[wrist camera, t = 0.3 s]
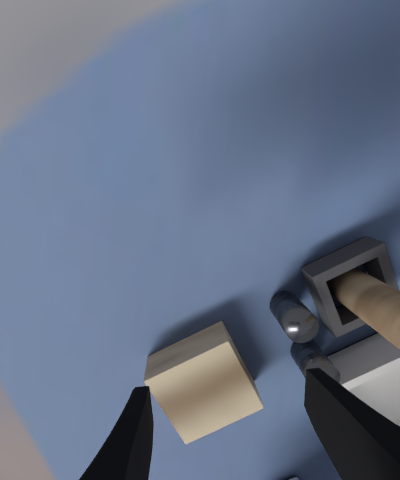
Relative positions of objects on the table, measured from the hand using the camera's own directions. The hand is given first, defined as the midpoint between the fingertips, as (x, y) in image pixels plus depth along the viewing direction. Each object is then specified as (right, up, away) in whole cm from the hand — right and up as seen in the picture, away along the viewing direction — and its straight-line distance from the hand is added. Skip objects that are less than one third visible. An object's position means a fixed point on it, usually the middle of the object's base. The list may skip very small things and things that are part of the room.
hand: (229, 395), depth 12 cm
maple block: (-1, -4, +12) cm, 13 cm away
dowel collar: (+11, +4, +10) cm, 15 cm away
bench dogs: (+7, 0, +11) cm, 13 cm away
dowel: (+11, +4, +10) cm, 15 cm away
